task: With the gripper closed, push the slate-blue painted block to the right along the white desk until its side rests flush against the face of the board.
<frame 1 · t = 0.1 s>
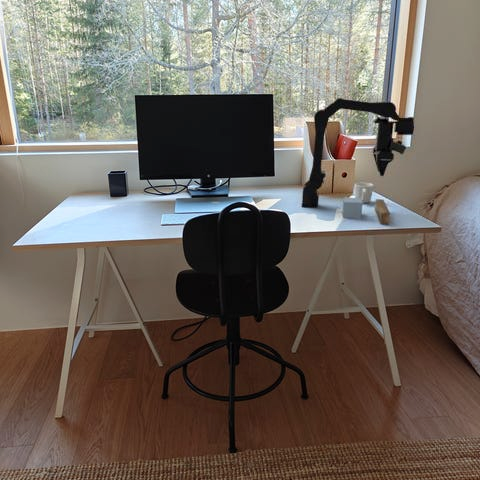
hand: (380, 173, 175), 15 cm above the table, fingers open, 9 cm apart
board: (381, 216, 168), on the table
cup: (362, 203, 188), on the table
block: (351, 215, 170), on the table
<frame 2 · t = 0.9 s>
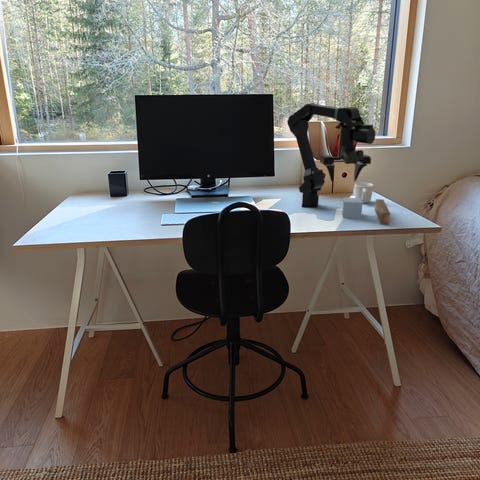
hand: (343, 181, 169), 13 cm above the table, fingers open, 9 cm apart
nothing on the table moved.
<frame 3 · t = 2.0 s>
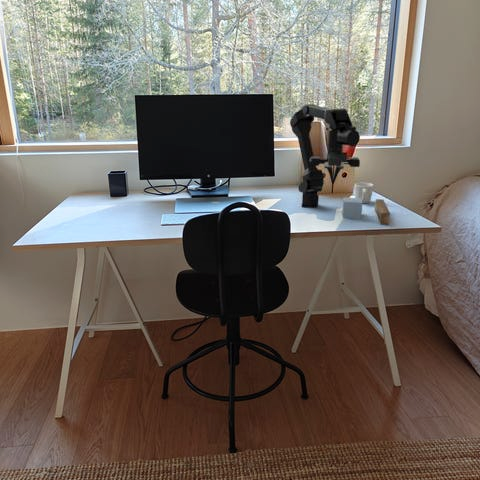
hand: (332, 183, 167), 13 cm above the table, fingers closed
nothing on the table moved.
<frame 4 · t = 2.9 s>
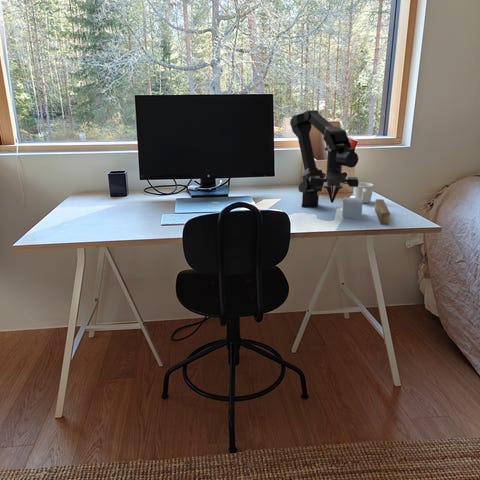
hand: (332, 202, 170), 5 cm above the table, fingers closed
nothing on the table moved.
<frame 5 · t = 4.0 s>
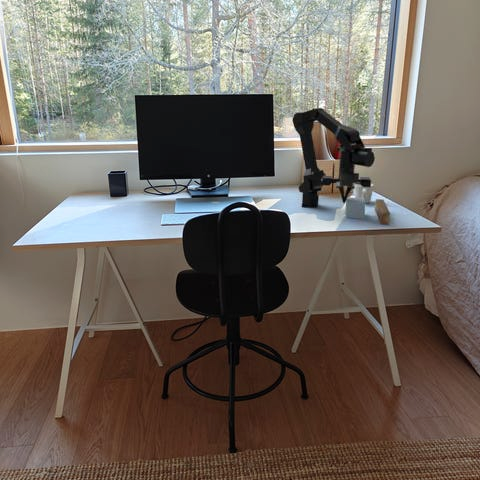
hand: (343, 202, 169), 5 cm above the table, fingers closed
block: (354, 215, 170), on the table, touching gripper
everything else where it was.
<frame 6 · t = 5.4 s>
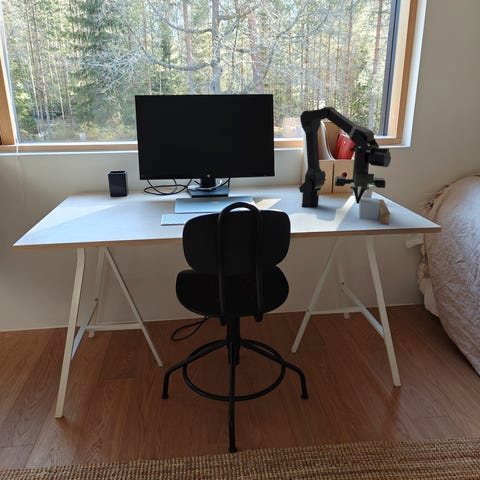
hand: (357, 203, 168), 5 cm above the table, fingers closed
block: (368, 216, 169), on the table, touching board, gripper
everything else where it was.
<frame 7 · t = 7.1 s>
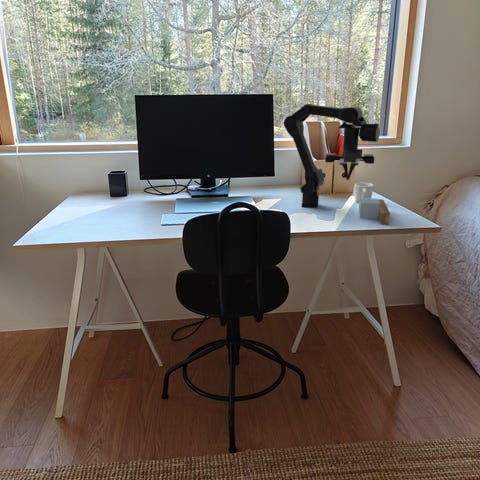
hand: (347, 179, 173), 13 cm above the table, fingers closed
block: (368, 216, 169), on the table
everything else where it was.
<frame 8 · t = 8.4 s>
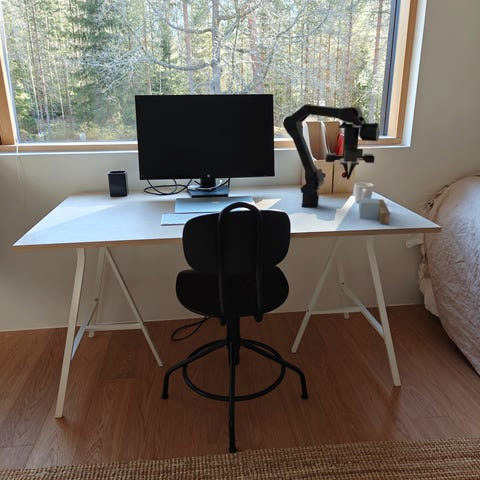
hand: (347, 179, 173), 13 cm above the table, fingers closed
nothing on the table moved.
at the end: block inside the target area on the table beside the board (0.1 cm from its centre), on the table; block tilted 0° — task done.
